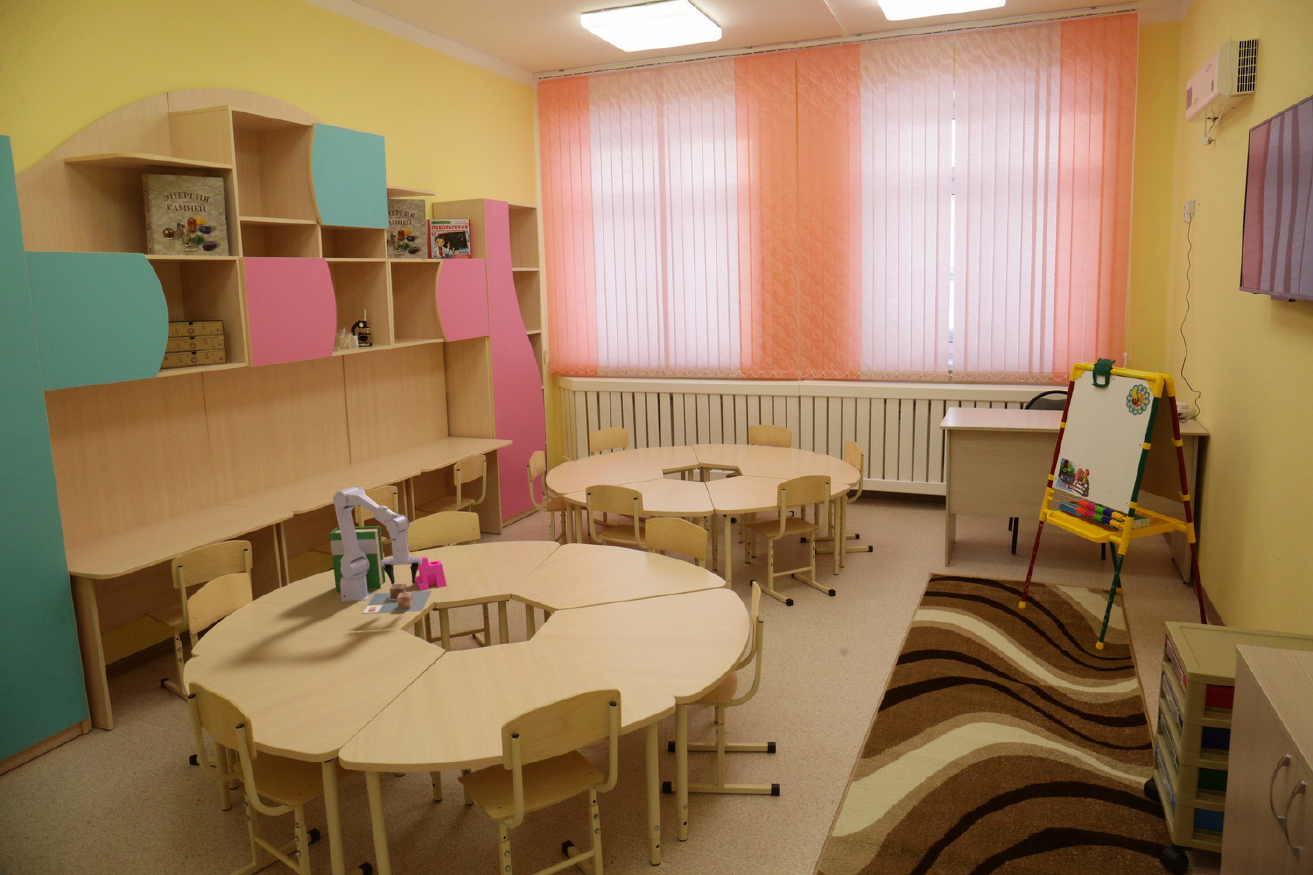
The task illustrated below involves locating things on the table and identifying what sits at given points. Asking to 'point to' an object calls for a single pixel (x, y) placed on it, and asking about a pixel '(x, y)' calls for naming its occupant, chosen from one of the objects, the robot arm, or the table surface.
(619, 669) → the table surface
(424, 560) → the bracket
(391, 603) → the mat
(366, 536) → the hardback book
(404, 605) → the terracotta block
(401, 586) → the walnut block
